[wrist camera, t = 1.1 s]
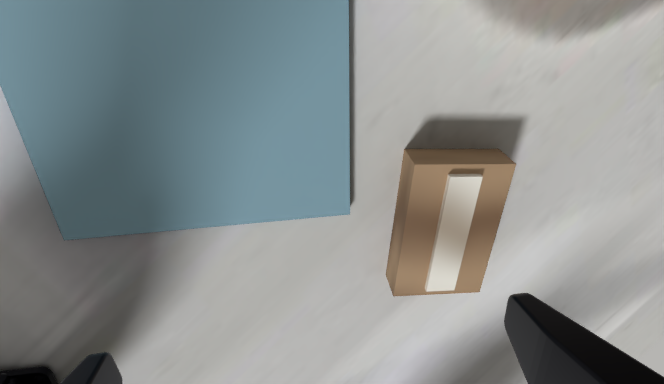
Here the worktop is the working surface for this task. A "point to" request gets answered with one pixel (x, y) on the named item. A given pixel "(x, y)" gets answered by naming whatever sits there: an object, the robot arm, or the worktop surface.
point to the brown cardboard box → (446, 219)
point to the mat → (180, 110)
